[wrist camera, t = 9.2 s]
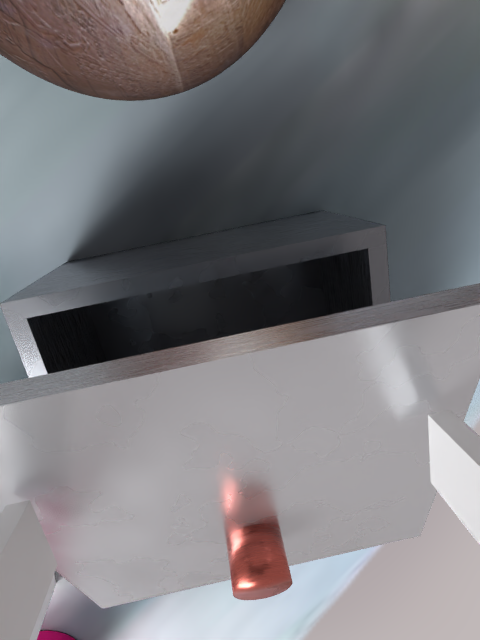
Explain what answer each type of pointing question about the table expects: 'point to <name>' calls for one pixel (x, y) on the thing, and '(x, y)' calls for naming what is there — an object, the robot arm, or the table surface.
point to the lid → (240, 448)
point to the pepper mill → (53, 636)
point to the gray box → (198, 290)
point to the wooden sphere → (131, 42)
